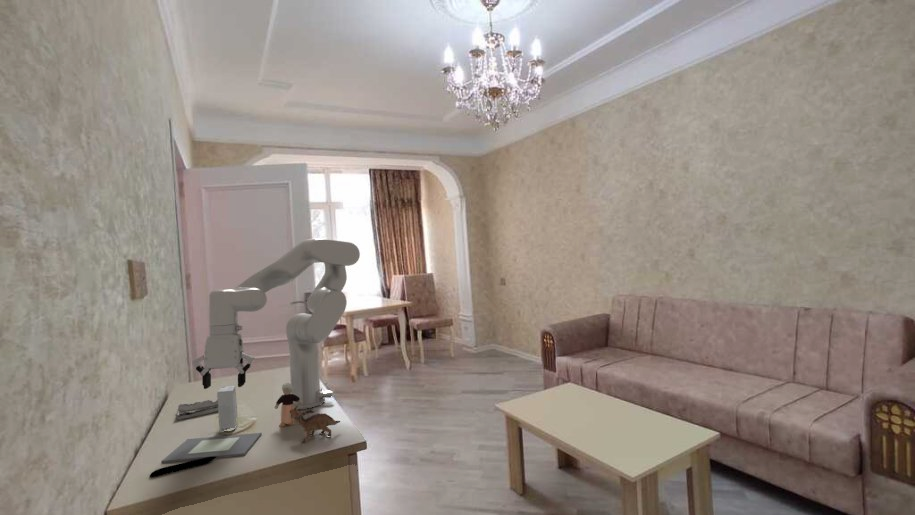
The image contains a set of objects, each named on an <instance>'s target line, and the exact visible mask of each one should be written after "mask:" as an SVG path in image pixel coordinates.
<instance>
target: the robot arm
mask: <svg viewBox="0 0 915 515" xmlns="http://www.w3.org/2000/svg"><path fill="white" fill-rule="evenodd" d="M360 255H361V253H360V249H359V247H358V246H357V245H356V244H354V243H352V242H349V241H342V240H334V239H330V238H321V237H318V238H317V237H315V238H308V239H304V240H301V242H300V241H299V243H298V244H296V245H295V246H294V247H292V248H291V249H290V250H289V251H287V252H286V253H284V254H283V255H282V256H281V257H280V258H277V260H275V261H274V262H273V263H271V264H269V265H267V266H265V267H264V268H263V269H260V270H259V271H257V272H255V273H254V274H253V275H250V276H249V277H247V278H246V279H245V280H244V281H243V282H241V283H240V284H238V285H237V286H236V287H235V288H234V289H232V288H231V289H230V288H229V289H227V288H226V289H213V290H211V291H210V293H209V295H208V296H209V298H208V299H209V304H208V305H209V306H208V307H209V308H208V309H209V312H208V313H209V320H208V321H209V325H208V326H209V335H207V337H206V340H205V345H204V354H203V355H201V356H200V357H198V358H195V359H194V360H193V361H192V364H193V366H194V367H195V370H196V371H197V372H198V373H199V374H200V375H201V376H202V377H201V378H202V383H201V384H202V386H203V389H204V390H206V389H208V388H210V387H211V386H212V374H211V372H210V371H211V370H217V369H220V370H221V369H236V370H237V371H238V372H239V373H238V374H237V387H238V388H242V387H243V386H244V385H245V383H246V378H247V377H246V373H247V371H248V370H249V369H250V368H251V367H252V365H253V363H254V362H255V360H256V358H255V356H253V355H250V354H247V353H245V349H244V343H243V337H242V334H241V333H240V332H239V331H243V328H244V327H243V325H240V324H239V322H238V321H239V320H238V319H239V317H238V313H239V312H244V313H245V312H246V313H248V312H249V313H252V312H254V313H255V312H259V311H260V310H262V309H263V308H264V307H265V306H266V304H267V301H268V297H267V295H266V293H267V292H269V291H271V290H273V289H275V288H277V287H281V286H284V285H286V284H289V283H291V282H293V281H294V280H296V278H297V277H299V276H300V275H301V274H302V273H303V272H305V271H306V270H307V269H308V268H310V267H311V266H312V265H313V264H314V263H315V264H316V263H323V265H324V274H323V276H322V278H321V279H320V281H319V282H318V284H317V285H316V287H315V288H314V289H313V290H312V292H311V293H310V295H308V298H307V300H306V308H307V310H309V311H310V312H311V313H312V314H311V313H304V312H301V313H296V314H294V315H292V316H291V317H290V318H289V319H288V321H287V322H286V326H285V332H286V338H287V339H286V340H287V343H288V351H289V370H290V371H289V374H290V375H289V376H290V384H291V385H292V386H293V390H292V392H291V393H290V394H294V395H296V396H298V397H299V398H300V401H301V402H302V404H301V405H299V404H298V403H297V402H295V401H293V403H294V408H295V407H296V406H298V407H297V408H296V410H297V411H298V410H300V411H301V410H302V411H303V410H308V409H307V408H309V409H313V408H315V406H317V407H319V406H321V405H322V403H323V402H324V401H325V402H326V399H328V398H333V396H334V392H333V391H331V390H323V387H322V386H321V384H320V383H321V381H320V380H321V379H320V363H319V362H320V361H319V360H320V355H319V353H320V352H319V346H318V344H320V343H323V342H324V341H325V340H327V339H328V337H330V335H331V333H332V332H333V330H334V328H335V327H336V325H337V324H338V322H339V321H340V320H341V317H342V316H343V314H344V312H345V311H346V309H347V301H348V300H347V297H346V295H345V293H344V292H343V289H344V287H345V285H346V283H347V278H348V277H347V270H346V267H350V266H353V265H355V264H357V262H358V261H359V259H360ZM245 360H246V361H247V363H246V365H244V363H245ZM202 362H203V365H202V364H201V363H202ZM331 396H332V397H331ZM325 402H324V403H325ZM324 403H323V404H324ZM320 404H321V405H320ZM318 405H319V406H318ZM312 407H313V408H312Z"/></svg>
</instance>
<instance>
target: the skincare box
mask: <svg viewBox="0 0 915 515" xmlns="http://www.w3.org/2000/svg"><path fill="white" fill-rule="evenodd" d="M216 396H217V397H216V398H217V400H218V405H217V406H218V411H217V412H218V414H217V415H218V429H219V433H223V432H222V431H224V430H227V429H230V428H235V426H236V418H237V416H238V405H237V404H238V402H237V392H236V385H229V386H228V385H227V386H221V387H220V388H219V389H218V391H217V395H216Z"/></svg>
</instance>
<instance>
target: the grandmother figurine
mask: <svg viewBox="0 0 915 515" xmlns="http://www.w3.org/2000/svg"><path fill="white" fill-rule="evenodd" d="M281 390H282V393H283V394H281V395H280V396H279V398H278V399H277V401H276V403H275V406H274V409H276V410H277V409H279V406H280V405H281V407H280V408H281V410H280V412H281V413H280V423H279V425H278V426H279V427H281V428H282V427H286V426H287V425H288V426H294V425H296V423H295V422H296V421H295V420H294V419H292V418H291V417H290V416H291V413H290V410H291V409H294V403H293V401H295V402H297V403H298V404H299V405H301V404H302V402H301V401H300V398H299V397H298V396H296V395H294V394H291V392H292V390H293V386H292V385H291V383H289V382H286V383H284V384H282V387H281Z"/></svg>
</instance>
